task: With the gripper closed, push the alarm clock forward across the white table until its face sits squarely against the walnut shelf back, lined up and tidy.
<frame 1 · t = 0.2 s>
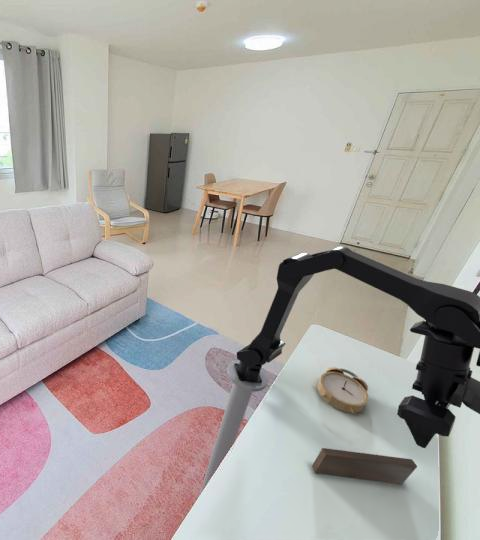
hand: (428, 433, 56), 17 cm above the table, tool pointing down, fingers open, 9 cm apart
alarm clock: (340, 392, 85), on the table
shelf back: (355, 475, 65), on the table
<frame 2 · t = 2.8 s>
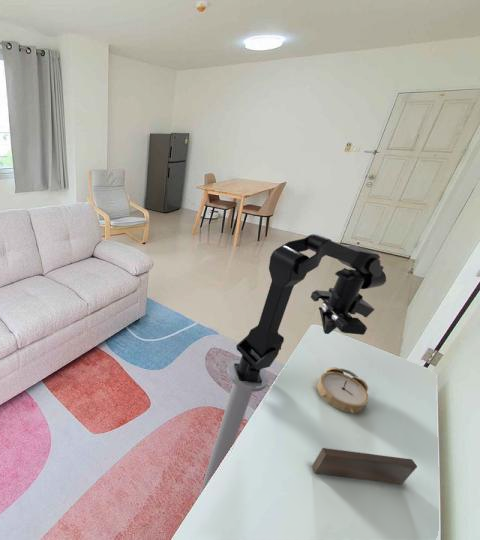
hand: (326, 333, 91), 11 cm above the table, tool pointing down, fingers closed
nothing on the table moved.
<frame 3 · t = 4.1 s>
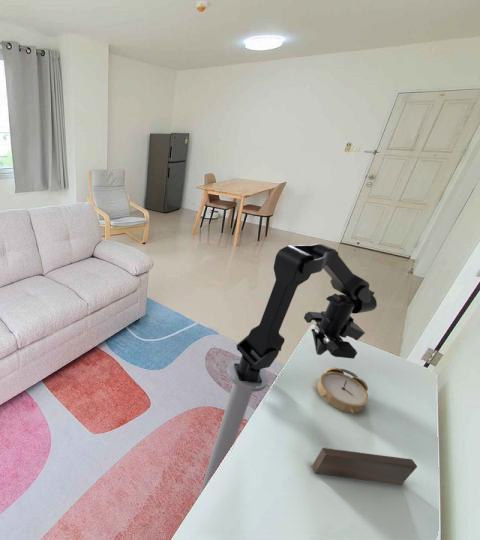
hand: (318, 354, 94), 4 cm above the table, tool pointing down, fingers closed
nothing on the table moved.
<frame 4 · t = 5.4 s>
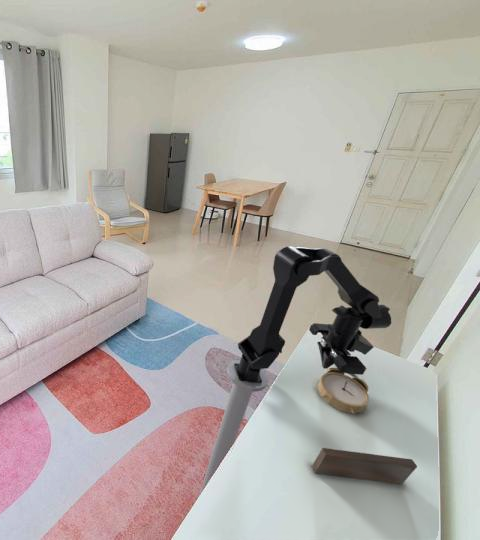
hand: (324, 367, 90), 3 cm above the table, tool pointing down, fingers closed
alarm clock: (340, 393, 85), on the table, touching gripper
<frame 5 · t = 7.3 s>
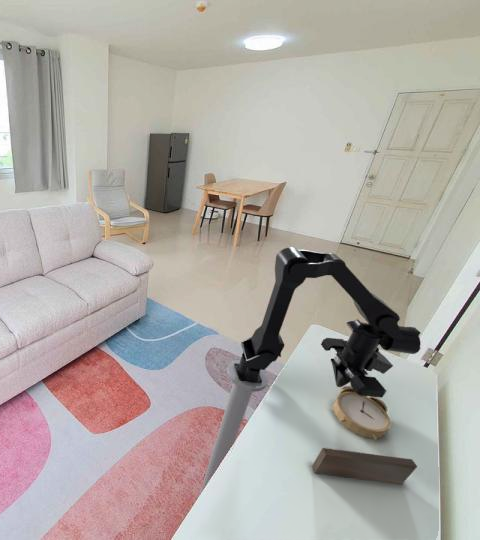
hand: (338, 386, 83), 3 cm above the table, tool pointing down, fingers closed
alarm clock: (357, 414, 79), on the table, touching gripper
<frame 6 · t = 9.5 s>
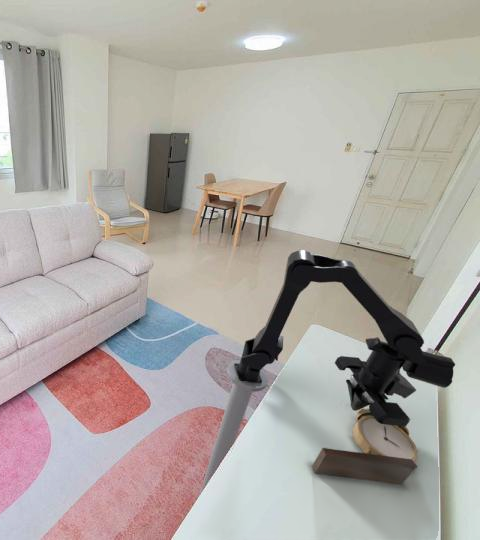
hand: (354, 409, 77), 3 cm above the table, tool pointing down, fingers closed
alarm clock: (378, 440, 72), on the table, touching gripper
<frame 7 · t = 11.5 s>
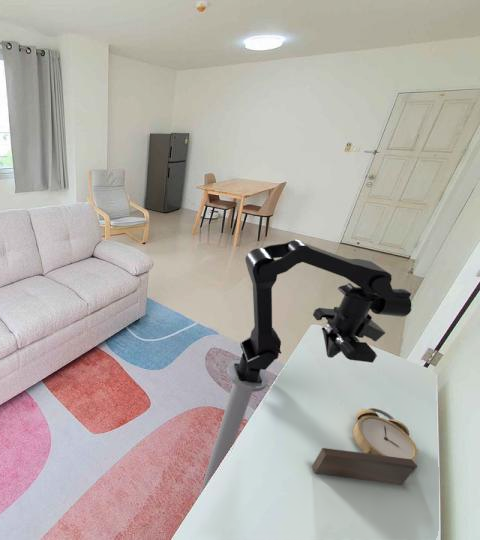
hand: (329, 356, 81), 12 cm above the table, tool pointing down, fingers closed
alarm clock: (378, 440, 72), on the table
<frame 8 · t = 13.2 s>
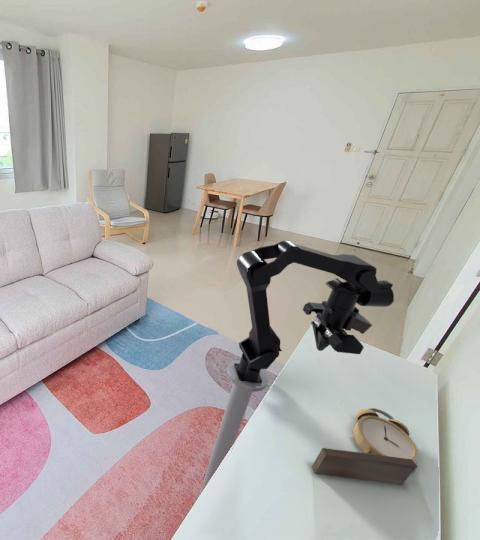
hand: (319, 349, 83), 12 cm above the table, tool pointing down, fingers closed
nothing on the table moved.
at the end: alarm clock inside the target area on the table beside the shelf back (2.8 cm from its centre), on the table; alarm clock tilted 0°; alarm clock moved 14.3 cm from its start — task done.
